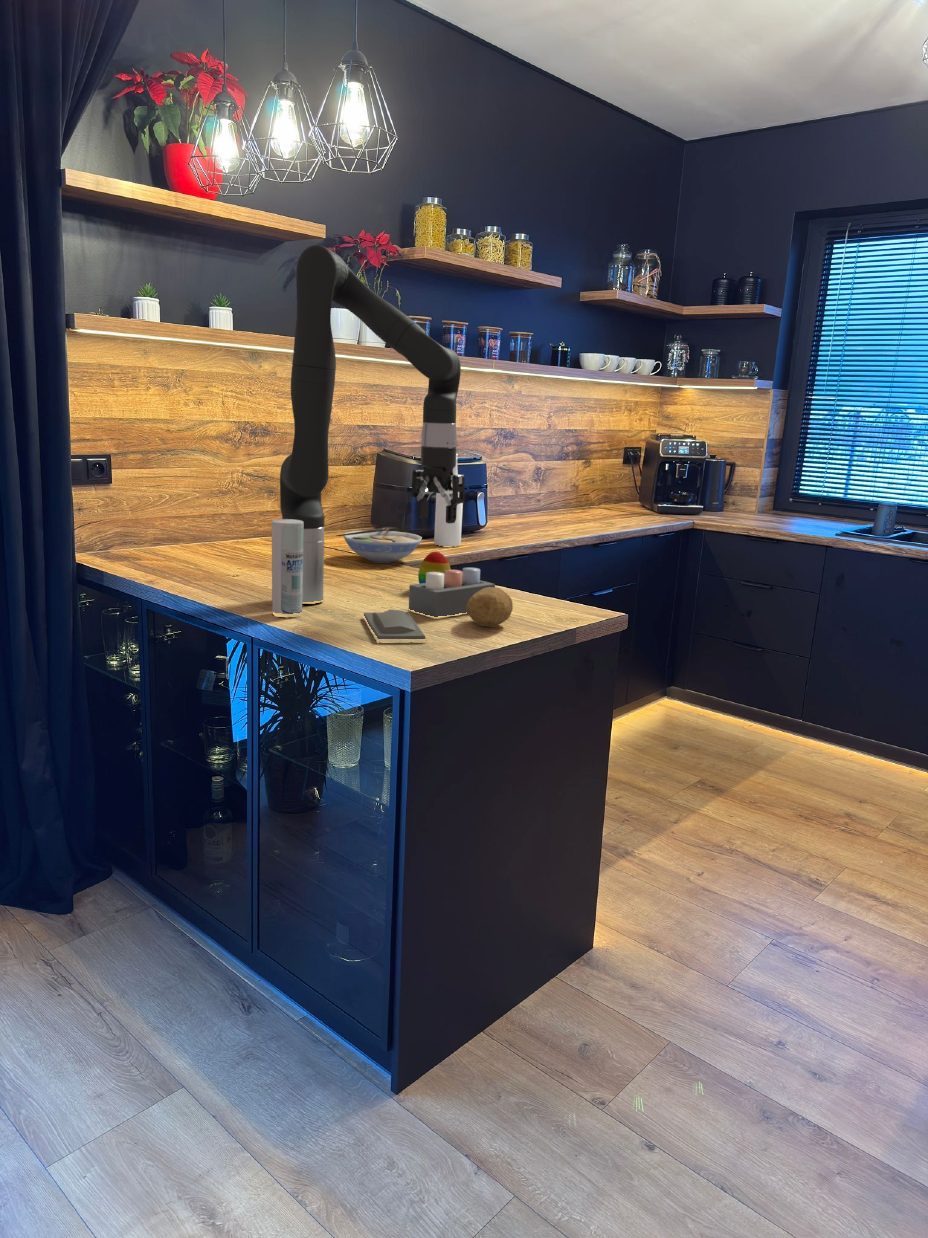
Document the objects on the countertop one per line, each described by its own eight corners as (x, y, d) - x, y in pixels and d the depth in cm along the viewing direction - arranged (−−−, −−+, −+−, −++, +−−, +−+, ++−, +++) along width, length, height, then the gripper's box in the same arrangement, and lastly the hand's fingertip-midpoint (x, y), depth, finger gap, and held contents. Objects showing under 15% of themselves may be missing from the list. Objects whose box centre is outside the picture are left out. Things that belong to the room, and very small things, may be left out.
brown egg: (452, 600, 195) (453, 573, 194) (439, 596, 198) (441, 570, 197) (464, 598, 198) (466, 572, 197) (452, 594, 201) (454, 569, 200)
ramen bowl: (382, 572, 239) (382, 542, 237) (323, 559, 253) (323, 531, 251) (439, 562, 259) (440, 534, 257) (381, 551, 272) (382, 525, 270)
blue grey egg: (469, 597, 199) (471, 571, 198) (457, 594, 202) (459, 568, 201) (482, 595, 202) (483, 569, 201) (470, 592, 205) (471, 566, 203)
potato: (513, 619, 194) (515, 583, 192) (509, 635, 180) (511, 597, 178) (469, 616, 195) (471, 580, 193) (462, 631, 181) (464, 593, 179)
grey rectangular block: (435, 619, 190) (437, 592, 188) (408, 611, 196) (409, 584, 194) (493, 609, 202) (495, 584, 201) (466, 602, 208) (467, 577, 207)
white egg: (433, 603, 192) (434, 576, 190) (421, 599, 194) (422, 572, 193) (446, 601, 194) (448, 574, 193) (434, 597, 197) (435, 571, 196)
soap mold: (409, 621, 190) (410, 605, 189) (427, 646, 171) (428, 628, 170) (362, 621, 187) (362, 605, 187) (374, 646, 169) (375, 628, 168)
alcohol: (430, 546, 287) (434, 452, 280) (438, 542, 296) (443, 451, 289) (456, 548, 285) (460, 454, 278) (463, 545, 293) (468, 453, 286)
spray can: (289, 609, 191) (289, 518, 186) (309, 615, 187) (310, 522, 182) (265, 614, 186) (265, 520, 181) (284, 620, 182) (285, 524, 178)
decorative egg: (421, 595, 213) (423, 554, 211) (414, 588, 221) (416, 548, 219) (454, 595, 215) (456, 554, 213) (446, 588, 223) (447, 549, 221)
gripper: (403, 442, 189) (402, 518, 193) (449, 446, 180) (447, 525, 184) (428, 442, 195) (427, 515, 199) (475, 446, 185) (472, 523, 189)
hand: (436, 520), depth 191 cm, fingers open, 8 cm apart
